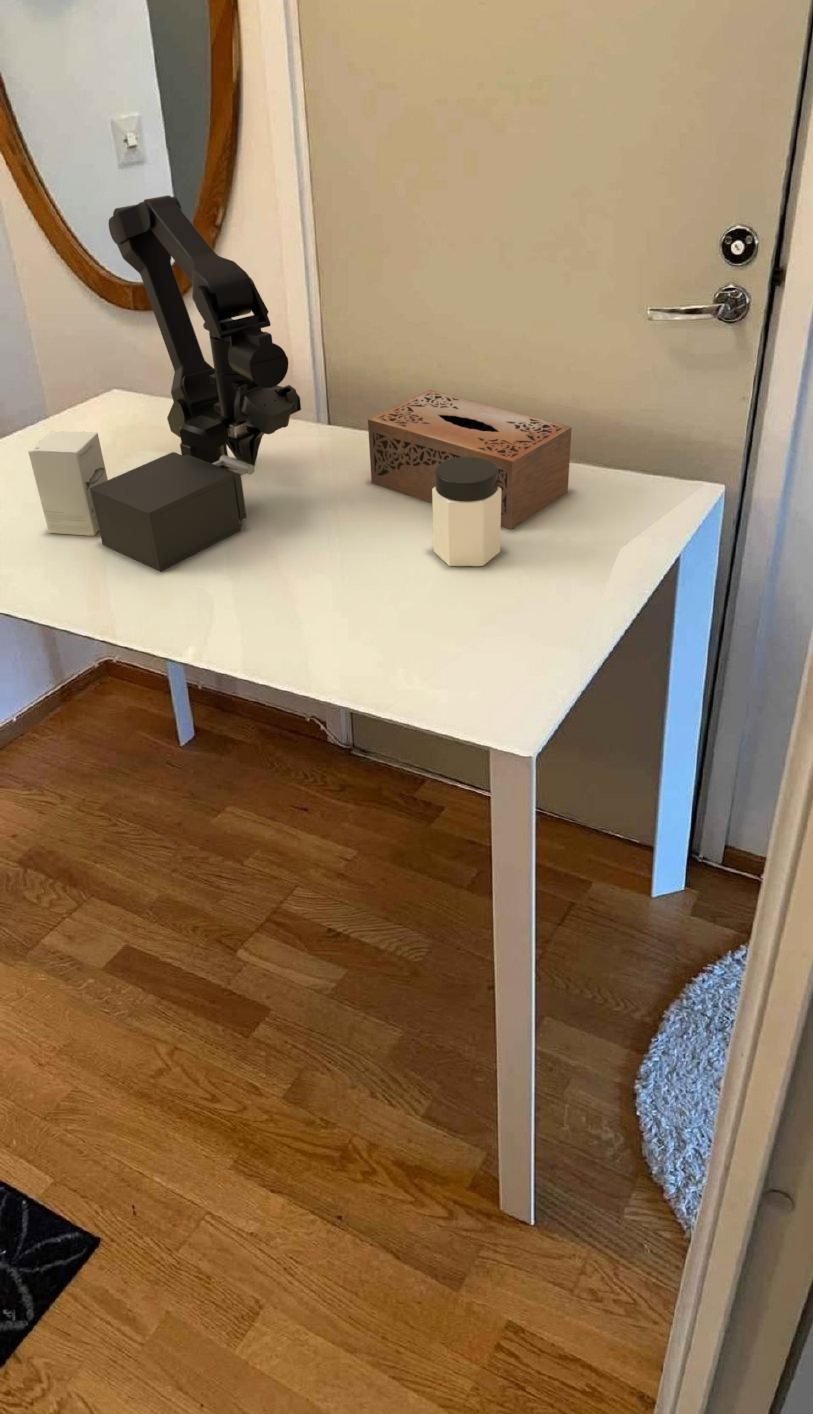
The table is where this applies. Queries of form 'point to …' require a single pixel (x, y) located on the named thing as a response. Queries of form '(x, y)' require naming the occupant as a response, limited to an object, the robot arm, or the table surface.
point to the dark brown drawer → (242, 470)
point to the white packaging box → (68, 480)
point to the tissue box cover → (470, 450)
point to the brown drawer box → (166, 510)
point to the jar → (466, 511)
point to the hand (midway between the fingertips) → (249, 472)
